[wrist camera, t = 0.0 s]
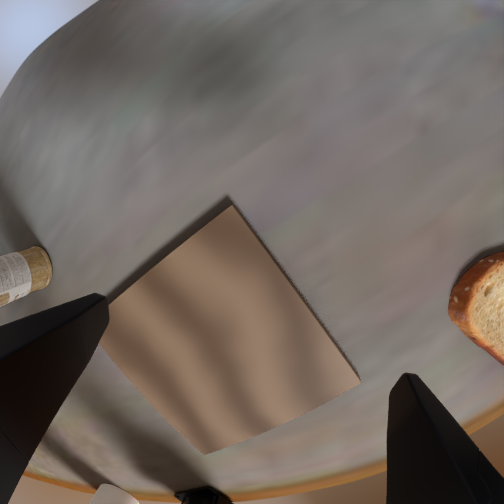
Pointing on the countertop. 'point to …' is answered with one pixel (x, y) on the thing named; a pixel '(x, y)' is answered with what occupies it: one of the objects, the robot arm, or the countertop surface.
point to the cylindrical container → (112, 496)
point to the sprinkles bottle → (23, 273)
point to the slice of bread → (481, 305)
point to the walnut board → (224, 339)
